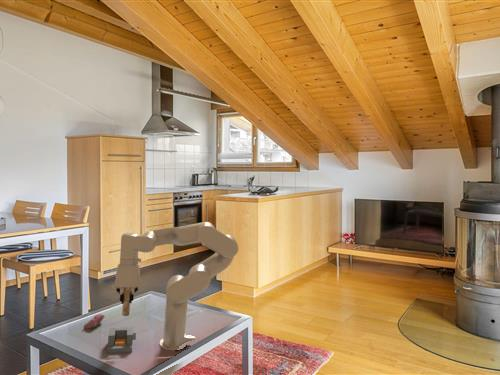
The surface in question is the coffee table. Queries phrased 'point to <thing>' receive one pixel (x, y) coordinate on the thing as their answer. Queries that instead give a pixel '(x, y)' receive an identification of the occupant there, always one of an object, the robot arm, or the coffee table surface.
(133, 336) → the mat
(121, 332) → the switch box
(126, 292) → the stylus
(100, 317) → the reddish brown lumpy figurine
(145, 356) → the coffee table surface
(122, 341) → the button
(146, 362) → the coffee table surface
